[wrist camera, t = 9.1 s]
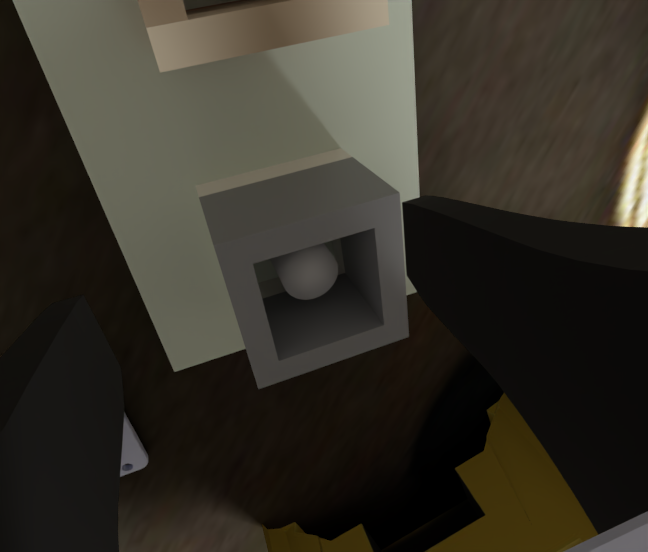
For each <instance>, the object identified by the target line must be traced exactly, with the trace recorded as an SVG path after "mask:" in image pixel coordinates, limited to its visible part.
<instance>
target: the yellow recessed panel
mask: <svg viewBox="0 0 648 552" xmlns="http://www.w3.org/2000/svg"><path fill="white" fill-rule="evenodd" d="M487 413H488V416H489V420H490V423H491V425H490V428H489V431H488V434H487V436H486V437H485V439H484V440H483V442H482V443H481V444H480V446H479V448H478V449H477V450H476V452H475V453H474V455H473V457H472V458H471V459H469V460H468V461H466V462H464V463H463V464H461V465H459V466H458V467H456V468H455V470H456V473H457V475H458V477H459V479H458V480H457V481H456V483H455V484H454V486H453V488H452V489H451V491H450V492H449V493H448V495H447V496H446V498H445V499H444V500H443V502H442V503H441V504H440V506H439V507H438V508H437V509H436V511H435V512H434V513H433V514H432V515H431V516H430V518H429V519H428V520H427V521H426V522H425V523H424V524H423V525H422V526H421V527H419V528H418V529H416V530H414V531H413V532H411V533H409V534H408V535H406V536H404V537H403V538H401V539H399V540H398V541H396V542H394V543H393V544H391V545H389V546H388V547H386V548H384V549H383V550H381V549H380V548H379V546H378V545H377V544H376V542H375V541H374V540H373V538H372V537H371V536H370V534H369V533H368V532H367V530H366V529H365V527H364V526H363V525H362V523H361V524H360V525H358V526H356V527H354V528H353V529H351V530H349V531H347V532H346V533H344V534H342V535H340V536H339V537H337V538H335V539H333V540H332V541H329V540H326V539H322V538H320V537H318V536H316V535H310V534H306V533H305V532H304V531H303V530H302V529H301V528H300V527H299V526H298V525H297V524H296V523H295V522H294V523H292V524H290V525H287V526H285V527H283V528H280V529H267V528H266V527H265V526H264V525H263V524H262V527H263V531H264V535H265V540H266V544H267V548H268V552H563V551H566V550H568V549H570V548H572V547H574V546H576V545H578V544H580V543H582V542H584V541H586V540H589V539H591V538H593V537H595V536H597V535H598V533H597V531H596V530H595V528H594V526H593V525H592V523H591V521H590V520H589V518H588V517H587V515H586V513H585V512H584V510H583V508H582V507H581V505H580V503H579V502H578V500H577V498H576V497H575V495H574V494H573V492H572V490H571V489H570V487H569V486H568V484H567V483H566V481H565V480H564V478H563V477H562V475H561V474H560V472H559V470H558V469H557V467H556V466H555V464H554V463H553V461H552V460H551V458H550V457H549V455H548V454H547V452H546V450H545V449H544V448H543V446H542V445H541V443H540V442H539V440H538V439H537V438H536V436H535V435H534V433H533V432H532V430H531V429H530V427H529V426H528V425H527V423H526V422H525V420H524V419H523V417H522V416H521V415H520V413H519V412H518V411H517V409H516V408H515V406H514V405H513V404H512V402H511V401H510V400H509V398H508V397H507V396H506V394H505V393H504V394H503V395H502V397H501V398H500V400H499V401H498V402H497V403H495V404H494V405H493V406H491V407H490V408H489V409H487Z"/></svg>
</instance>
